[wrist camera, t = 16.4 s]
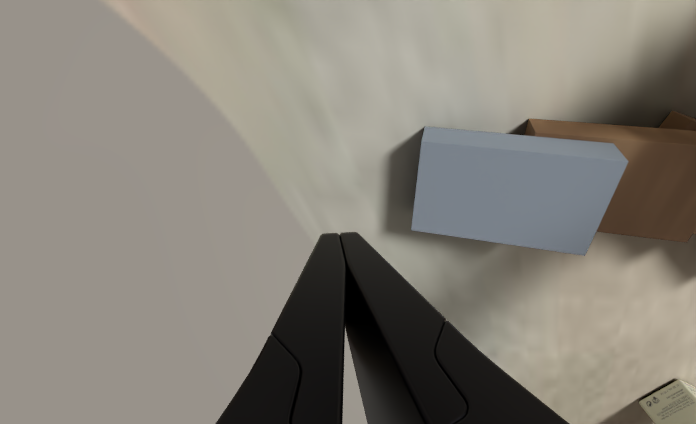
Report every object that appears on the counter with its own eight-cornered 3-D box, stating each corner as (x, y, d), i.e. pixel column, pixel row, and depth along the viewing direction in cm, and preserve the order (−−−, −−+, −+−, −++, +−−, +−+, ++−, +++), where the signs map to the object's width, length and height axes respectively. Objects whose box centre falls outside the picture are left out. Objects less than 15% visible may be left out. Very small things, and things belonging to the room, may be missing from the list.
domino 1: (424, 126, 18) (613, 143, 16) (414, 210, 20) (575, 232, 19) (421, 141, 16) (628, 161, 15) (411, 230, 19) (584, 255, 17)
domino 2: (528, 118, 18) (720, 132, 17) (505, 202, 21) (668, 221, 19) (535, 132, 17) (746, 149, 15) (509, 220, 19) (686, 242, 18)
